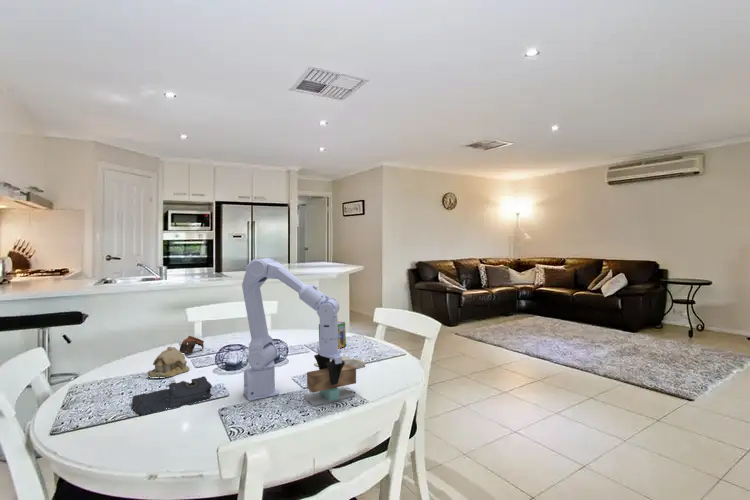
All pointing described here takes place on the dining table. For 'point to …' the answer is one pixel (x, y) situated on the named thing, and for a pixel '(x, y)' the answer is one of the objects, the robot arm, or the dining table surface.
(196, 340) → the brown curved piece
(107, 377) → the dining table surface
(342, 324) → the chalk box
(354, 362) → the rock
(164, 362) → the ceramic model
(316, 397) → the board
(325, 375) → the walnut bar
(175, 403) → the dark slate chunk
